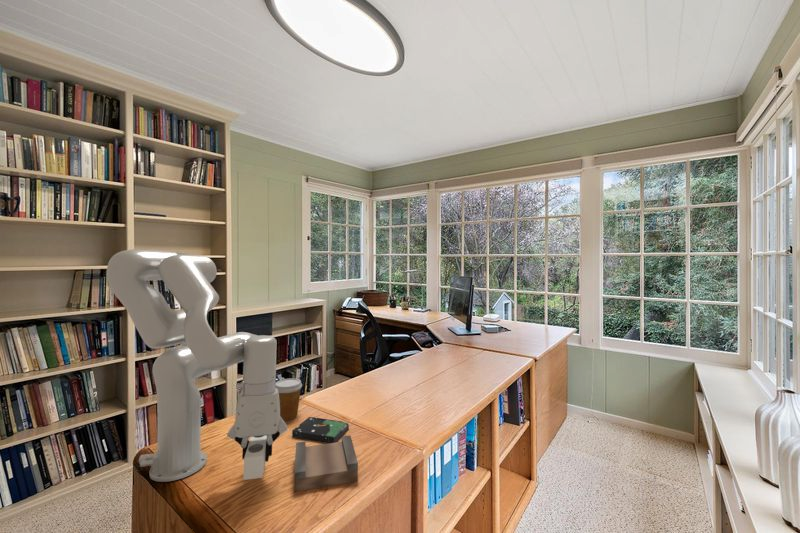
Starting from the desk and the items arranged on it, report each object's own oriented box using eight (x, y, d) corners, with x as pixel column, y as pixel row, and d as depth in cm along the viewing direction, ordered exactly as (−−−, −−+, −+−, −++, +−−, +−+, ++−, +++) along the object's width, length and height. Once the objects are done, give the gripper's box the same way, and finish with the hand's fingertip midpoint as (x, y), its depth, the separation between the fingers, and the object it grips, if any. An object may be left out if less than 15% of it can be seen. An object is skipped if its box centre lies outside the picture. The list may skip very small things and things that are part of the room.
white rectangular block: (243, 480, 75) (244, 456, 75) (253, 447, 89) (253, 427, 89) (262, 477, 77) (263, 454, 77) (268, 445, 90) (269, 425, 90)
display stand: (294, 491, 78) (294, 472, 78) (296, 458, 92) (296, 442, 92) (357, 481, 82) (357, 462, 82) (350, 450, 96) (350, 435, 96)
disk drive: (291, 439, 103) (335, 446, 99) (291, 430, 103) (335, 436, 99) (308, 424, 113) (349, 429, 109) (308, 416, 113) (349, 421, 109)
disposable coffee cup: (277, 411, 122) (277, 378, 122) (304, 410, 123) (304, 377, 123) (270, 423, 112) (270, 387, 112) (299, 422, 113) (299, 386, 113)
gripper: (218, 394, 77) (216, 473, 77) (294, 389, 81) (291, 464, 81) (225, 383, 84) (223, 455, 84) (295, 379, 89) (293, 447, 89)
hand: (257, 458), depth 83 cm, fingers closed on white rectangular block, 4 cm apart
